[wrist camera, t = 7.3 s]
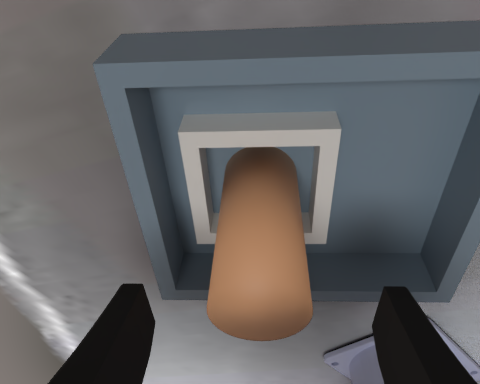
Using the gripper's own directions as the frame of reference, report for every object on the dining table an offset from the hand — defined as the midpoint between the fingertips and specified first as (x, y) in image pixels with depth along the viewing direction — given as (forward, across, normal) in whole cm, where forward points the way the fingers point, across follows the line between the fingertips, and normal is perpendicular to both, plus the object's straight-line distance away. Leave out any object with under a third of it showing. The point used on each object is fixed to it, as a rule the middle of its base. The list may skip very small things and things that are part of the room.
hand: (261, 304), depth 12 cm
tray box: (+7, -2, 0) cm, 8 cm away
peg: (+7, 0, 0) cm, 7 cm away
